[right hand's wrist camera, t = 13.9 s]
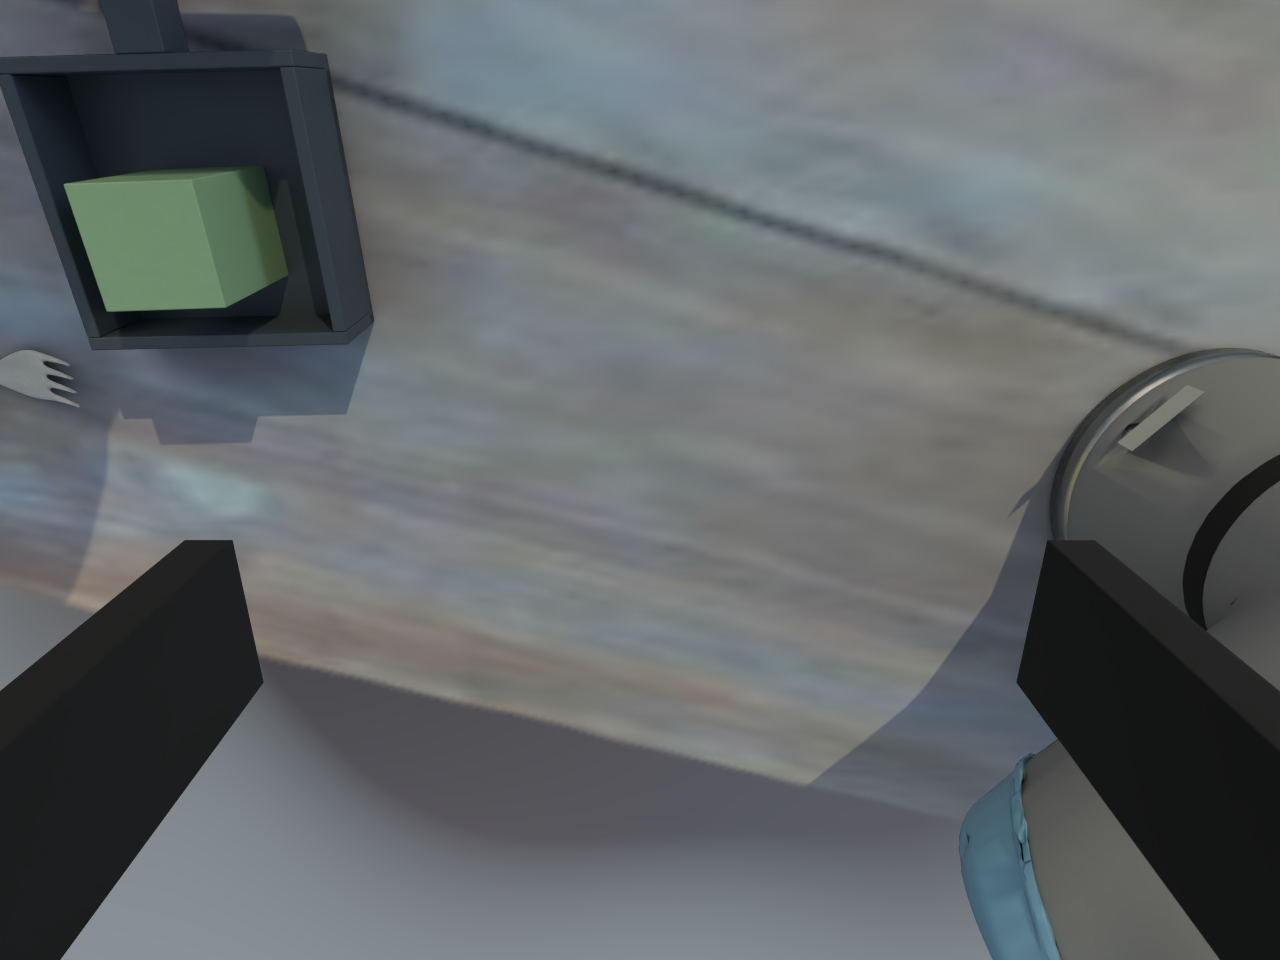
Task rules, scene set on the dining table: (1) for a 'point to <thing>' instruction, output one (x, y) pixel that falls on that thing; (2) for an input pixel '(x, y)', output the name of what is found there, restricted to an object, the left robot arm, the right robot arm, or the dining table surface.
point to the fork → (33, 375)
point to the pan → (198, 138)
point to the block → (179, 236)
